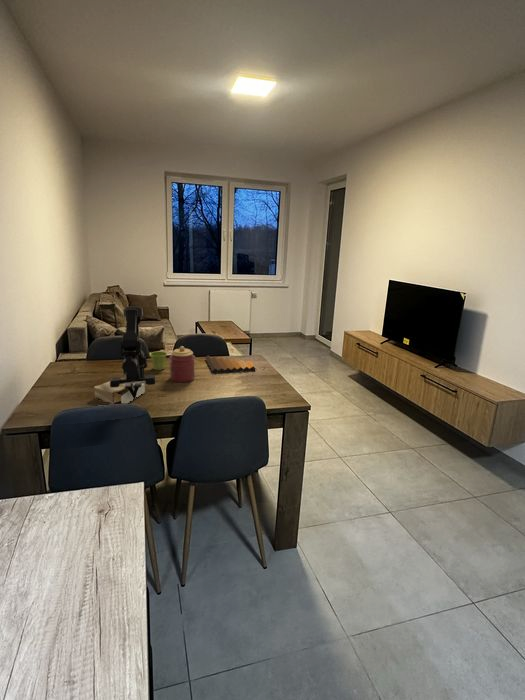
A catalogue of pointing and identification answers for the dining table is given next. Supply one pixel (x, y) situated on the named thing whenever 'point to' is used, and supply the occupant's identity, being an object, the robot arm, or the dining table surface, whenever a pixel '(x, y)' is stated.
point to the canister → (182, 365)
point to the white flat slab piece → (128, 396)
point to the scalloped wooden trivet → (228, 365)
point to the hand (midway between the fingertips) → (134, 399)
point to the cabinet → (110, 391)
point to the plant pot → (158, 360)
